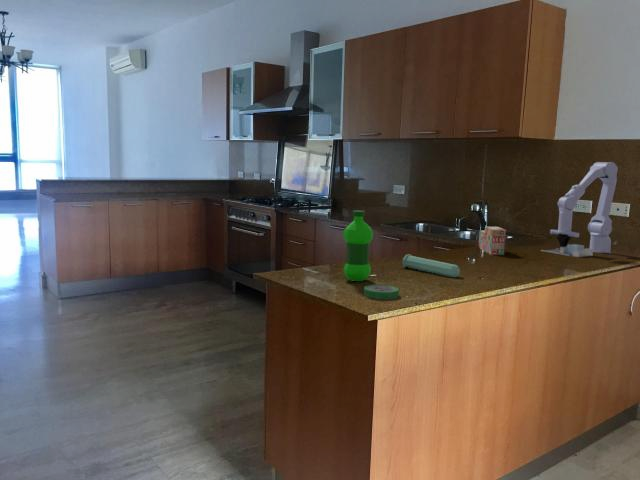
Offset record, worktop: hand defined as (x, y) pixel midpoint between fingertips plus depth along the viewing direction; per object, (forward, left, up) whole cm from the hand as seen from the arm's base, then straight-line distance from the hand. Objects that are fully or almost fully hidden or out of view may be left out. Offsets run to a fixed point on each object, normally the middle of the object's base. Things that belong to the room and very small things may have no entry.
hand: (563, 250), depth 263 cm
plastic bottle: (+122, +8, -2) cm, 122 cm away
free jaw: (0, +3, -1) cm, 3 cm away
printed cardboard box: (+25, -21, -2) cm, 33 cm away
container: (+87, +7, -2) cm, 87 cm away
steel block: (0, +7, -1) cm, 7 cm away
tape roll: (+127, +30, -3) cm, 131 cm away
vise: (0, +2, -2) cm, 3 cm away
